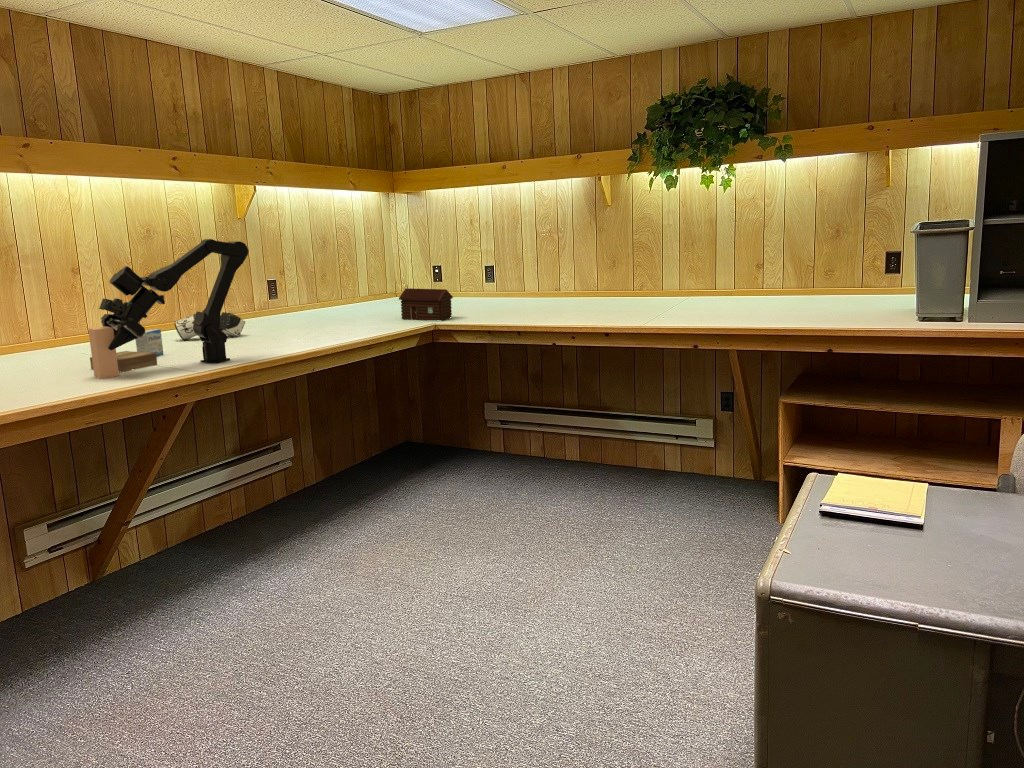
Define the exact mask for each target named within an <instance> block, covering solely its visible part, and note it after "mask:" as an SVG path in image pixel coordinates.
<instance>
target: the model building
mask: <svg viewBox="0 0 1024 768" xmlns="http://www.w3.org/2000/svg"><path fill="white" fill-rule="evenodd" d="M452 299H454V297H453V295H452V294H451V293H450V292H449V290H448V289H445V288H444V289H443V288H442V289H441V288H409V285H408V284H406V288H404V290H403V292H402V293H401V294H400V295H399V296H398V300H400V303H401V304H400V309H401V311H400V312H401V320H407V319H408V320H409V321H411V320H413V321H427V320H443V321H445V320H444V319H447V318H450V317H452V315H453V314H452V308H453V307H452ZM452 318H453V317H452ZM447 320H448V319H447Z"/></svg>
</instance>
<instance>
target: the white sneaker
mask: <svg viewBox="0 0 1024 768" xmlns="http://www.w3.org/2000/svg"><path fill="white" fill-rule="evenodd" d="M195 315H196V313H192V314H191V315H188V316H186V317H184V318H181V319H178V320H177V321H175V322H174V327H175V329H176V332H177V335H178V336H179V337H180V338H181V340H183V341H188V340H190V339H193V338H194V337H198V336H197V335H196V334H195V333H194V330H193V325H194V324H192V322H193V321H194V319H195ZM220 316H221V324H220V330H221V331H222V332H223V333H225V334H226V335H227V336H228V337H232V338H233V337H234V338H240V336H241V334H242V332H243V329H244V327H245V324H246V321H245V320H243V319H242V317H239V316H238V315H237V314H234V313H232V312H226V311H224V312H223V311H221V313H220Z"/></svg>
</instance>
